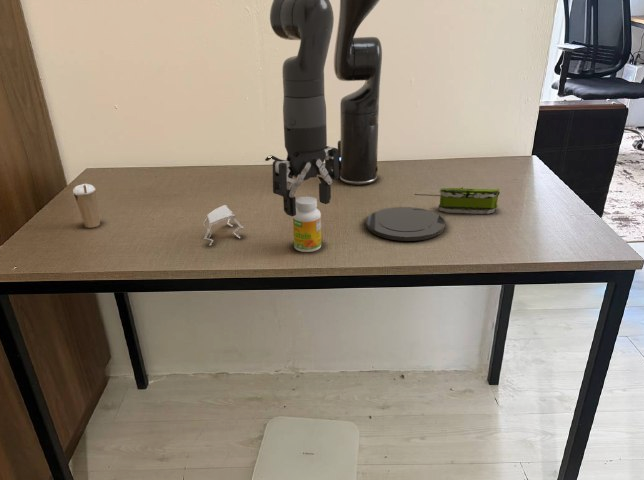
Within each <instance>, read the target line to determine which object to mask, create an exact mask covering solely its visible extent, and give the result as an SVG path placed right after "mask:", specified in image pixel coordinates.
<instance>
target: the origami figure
mask: <svg viewBox="0 0 644 480" xmlns="http://www.w3.org/2000/svg"><path fill="white" fill-rule="evenodd" d="M231 220H233V222H234V223H236V224H237V225H238V226H237V228H236V229H234V230H233V231H232V233H233V234H234V235H235V236H236V237H237V238H238V239H241V236H240V235H239V234H237V232H239V231H241V230H243V229H244V228H245V227H244V226H243V225H242V224H241V223H240V222H239V221H238V220H237V219H236V215H235V214H233V211H232V210H231V209H229V207H228V204H224V205H221V206H219V207H217V208H215V209H213V210H212V211H211V212H209V213H208V214H206V218H205V220H204V221H203V223H202V225H203V227H204V228H205V229H206V230H207V231H206V233H205V235H204V237H203V240H205V241H210V242H209V244H208V246H212V245H213V242H214V239H212V238H211V237H212V231H211V228H212V226H214V225H216V224H219V223H221V222H224V221H227V222H226V225H228V226H230V227H232V228H233V227H234V225H233V224H231V223H230V221H231ZM207 222H208V226H207V224H206V223H207Z"/></svg>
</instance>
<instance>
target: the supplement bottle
mask: <svg viewBox="0 0 644 480" xmlns="http://www.w3.org/2000/svg"><path fill="white" fill-rule="evenodd" d="M295 200H296V215H295V216H292V226H293V228H292V229H293V231H292V232H293V247H294V249H295V250H297V251H299V252H301V253H312V252H317V251H319V250H320V249H321V247H322V213H321V211H320V210H319V209H318V208H317V207H318V199H317V198H316V197H314V196H308V195H307V196H306V195H305V196H300V197H298V198H295Z"/></svg>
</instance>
